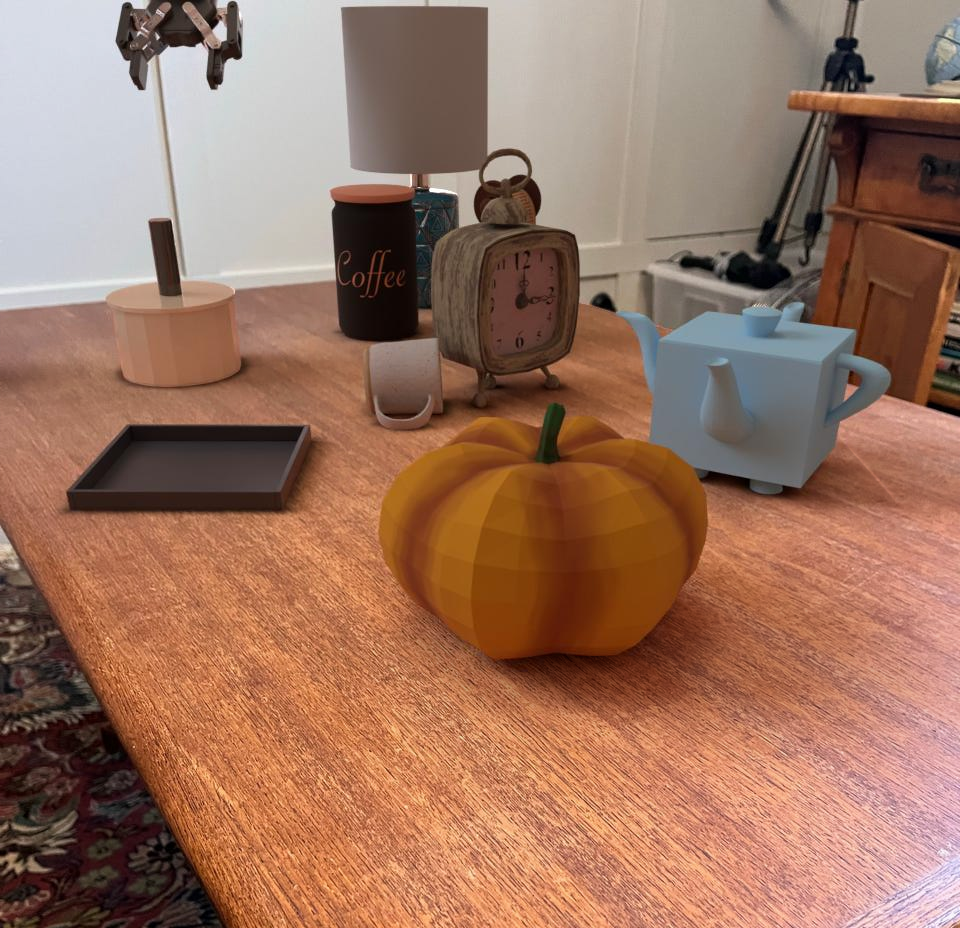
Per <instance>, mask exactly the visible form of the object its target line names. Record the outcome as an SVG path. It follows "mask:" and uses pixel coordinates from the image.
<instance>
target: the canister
mask: <svg viewBox="0 0 960 928" xmlns="http://www.w3.org/2000/svg"><path fill="white" fill-rule="evenodd" d="M234 300H235V299H234ZM234 300H232V301H231V302H229V303H227V304H225V305H222V306H219V307H215V308H211V309H206V310H200V311H193V312H185V313H172V314H140V313H129V312H123V311H118V310H115V309H112V308H110V313H111V318H112V323H113V324H112V325H113V330H114V334H115V341H116V345H117V351H118V356H119V363H120V367H121V372H122V376H123V378H124V379H125V380H127V381H128V382H130V383H133V384H136V385H141V386H146V387H147V386H148V387H157V388H158V387H159V388H162V387H163V388H176V387H177V388H178V387H190V386H197V385H203V384H204V385H205V384H210V383H214V382H218V381H221V380H224V379H227V378H229V377H231V376H233V375H235V374H237V373H238V372H239V371H240V370H241V367H242V358H241V351H240V342H239V341H240V340H239V334H238V327H237V325H238V324H237V318H236V309H235V301H234Z"/></svg>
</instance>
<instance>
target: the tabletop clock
mask: <svg viewBox="0 0 960 928" xmlns="http://www.w3.org/2000/svg"><path fill="white" fill-rule="evenodd" d="M510 156H511V157H517V158H519V159H521V160H522V161H523V162H524V163H525V165H526V168H527V174H526V176H527V177H526V178H525V179H524V180H523V181H522V182H521V183H519V184H517V185H515V186H511V182H510V180H509V179H510V178H509V179H508V178H503V179H502V180H501V181H500V182H501V188H495V187H492V186H489V185H488V184H487V183H485V182H486V181H485V179H484V174H485V173H484V172H485V170H486V168H487V167H488V166H487V165H489V164H490V163H491V162H492V161H493V160H495V159H498V158H501V157H510ZM486 166H487V167H486ZM532 175H533V166H532V163H531V159H530V158H529V156H528V155H527V154H526V153H525V152H523V151H522V150H520V149H517V148H510V147H509V148H499V149H497V150H493V151H492V152H490V153H489V154H488V156H487V157H486V158H485V159H484V161H483V162H482V164H481V167H480V170H478V181H479V183H480V186H482V187H483V188H484V189H485V190H486V191H487V192H489V193H492V194H495V195H501V198H496V199H493V200H491V201H490V202H489V203H488V204H487V205H486V206H485V208H484V210H483V212H482V216H481V221H482V222H481V223H480V222H477V223H473V224H468V225H464V226H459V228H456V229H454V230H452V231H450V232H449V233H447V234H446V235H444V236H443V237H442V238H440V239H439V240H438V241H437V242H436V245H435V248H434V252H433V259H432V275H431V303H432V308H431V317H432V328H433V334H434V338H438V340H439V348H440V356H441V357H442V358H443V359H444V360H448V361H450V362H454V363H456V364H459V365H462V366H465V367H469V368H471V369H474V370H475V372H476V374H477V393H475V394H473V397H472V404H473V406H474V407H476V408H479V409H481V408H485V407H486V405H487V403H488V398H487V395H486V394H485V393H484V391H485V390H484V389H495V388H496V386H497V384H498V383H497V378H496V377H503V376H511V375H517V374H518V375H519V374H525V373H530V372H533V371H536V370H539V369H540V371H541V372H542V373H543V374H544V376H545V380H544V381H545V386H546V387H547V388H548V389H549V390H551V389H553V390H554V389H555V390H556V389H557V388H559V385H560V378H559V377H558V376H557V375H556V374H551V373H550V371H549V368H548V366H551V365H553V364H556V363H557V362H560V361H561V360H563V359H564V358H565V357H566V356H568V355H569V354H570V353H571V350H572V347H573V344H574V340H575V337H576V331H577V325H578V316H579V308H580V307H579V306H580V296H581V264H580V263H581V261H580V251H579V244H578V241H577V236H576V234H574V233H572V232H571V231H569V230H566V229H561V228H555V227H552V226H551V227H550V226H545V225H541V224H536V225H535V224H529V223H524V222H528V221H530V218H529V215H528V212H527V210H526V208H525V206H524V205H523V204H522V202H521V201H520V200H518V199H515V198H510V197H511V194H513V193H516V192H518V191H520V190H521V189H523V188H524V187H525V186H526V185H527V183H528V182H529V180H530V178H532ZM495 376H496V377H495Z"/></svg>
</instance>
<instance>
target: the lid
mask: <svg viewBox="0 0 960 928" xmlns="http://www.w3.org/2000/svg"><path fill="white" fill-rule="evenodd" d="M173 223H174V222H173V218H169V217H155V218H149V219H148V220H147V224H148V231H149V238H150V244H151V250H152V256H153V257H152V258H153V262H154V268H155V270H154V271H155V275H156V282H148V283H147V282H146V283H141V284H135V285H131V286H125V287H121V288H119V289H116V290H113V291H111V292H110V293H107V295H106V296H105V303H106V305H107V307H109V308H110V309H111V308H112V309H115V310H118V311H123V312H129V313H140V314H172V313H185V312H193V311H200V310H206V309H211V308H215V307H219V306H222V305H225V304H227V303H229V302H231V301H232V300H235V299H236V291H235V289H234V288H233V287H231V286H229V285H226V284H223V283H220V282H219V283H218V282H213V281H202V280H201V281H200V280H182V278H181V272H180V264H179V259H178V251H177V245H176V238H175V230H174V224H173Z"/></svg>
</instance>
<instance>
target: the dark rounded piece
mask: <svg viewBox="0 0 960 928" xmlns="http://www.w3.org/2000/svg"><path fill="white" fill-rule="evenodd" d="M526 177H527V174H520V173H519V174H515V175H513V176H511V177H509V180H510V182H511V186H515V185H517V184H519V183H521V182H522V181H523V180H524V179H525V178H526ZM484 182H485V183H487V184H488V185H489V186H492V187H495V188H501V181H499V180H497V179H490V180H487V181H484ZM496 198H501V195H495V194H492V193H489V192H487V191H486V190H485V189H484V188H483V187H482V186H481V185H480V186H478V187H477V189H476V191H475V193H474V198H473V211H474V215H475V218H476V219H477V221H478V223H481V222H482V221H481V216H482V212H483V210H484V208H485V206H486V205H487V204H488V203H489V202H490V201H491V200H493V199H496ZM510 198H515V199H518V200H520V201H521V202H522V204H523V205H524V206H525V208H526V210H527V212H528V215H529V218H530V221H528V222H524V223H529V224H535V225H537V216H538V215H539V213H540V210H541V206H542V193H541V190H540V188H539V185H538V184H537V182H536V181H535V180H534V178H532V177H531V178H530V180H529V182H528V183H527V185H526V186H525V187H524V188H523V189H521V190H520V191H518V192H516V193H513V194H511V197H510Z"/></svg>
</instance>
